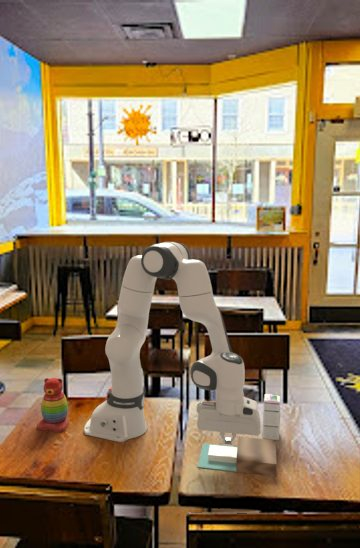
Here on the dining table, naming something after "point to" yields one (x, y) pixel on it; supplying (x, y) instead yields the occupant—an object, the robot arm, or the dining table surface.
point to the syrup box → (271, 416)
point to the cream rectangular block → (222, 454)
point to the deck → (256, 456)
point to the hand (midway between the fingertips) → (227, 443)
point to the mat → (214, 464)
